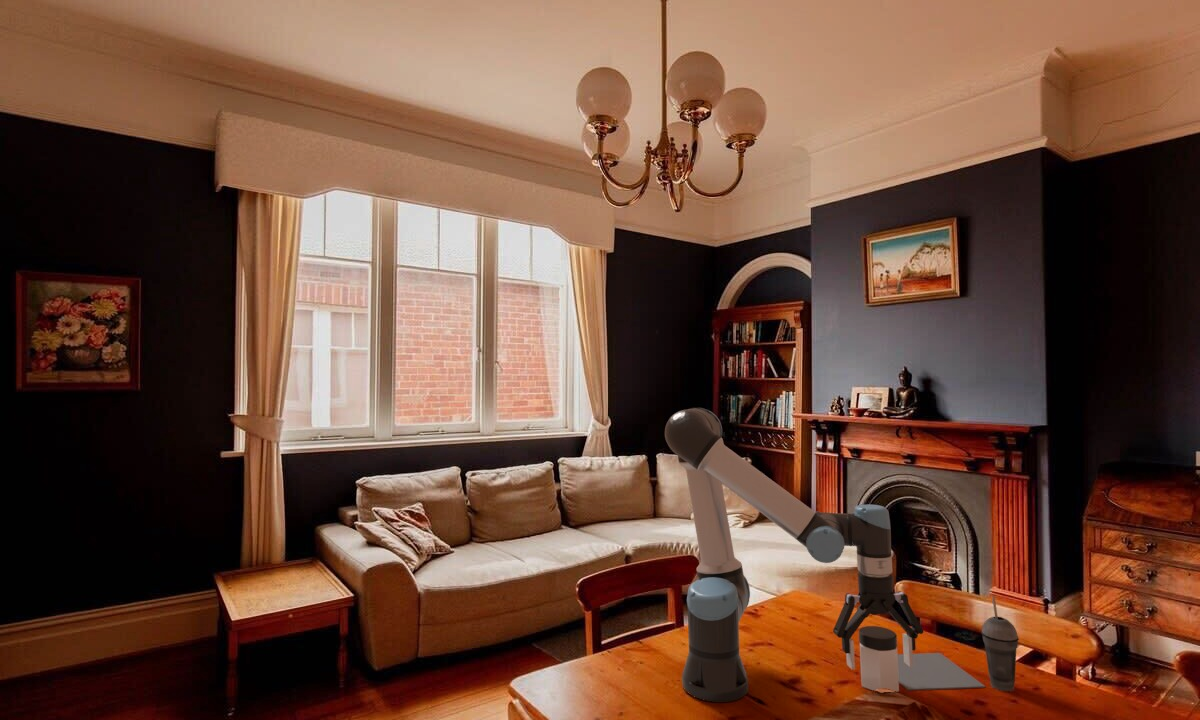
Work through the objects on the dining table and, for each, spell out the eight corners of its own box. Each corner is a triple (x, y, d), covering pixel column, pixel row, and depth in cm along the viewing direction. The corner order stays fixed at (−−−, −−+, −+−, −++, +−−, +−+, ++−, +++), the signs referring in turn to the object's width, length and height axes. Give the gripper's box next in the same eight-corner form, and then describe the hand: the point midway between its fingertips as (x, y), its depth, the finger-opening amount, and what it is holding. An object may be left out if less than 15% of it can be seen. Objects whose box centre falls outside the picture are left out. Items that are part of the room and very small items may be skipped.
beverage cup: (1003, 696, 138) (999, 605, 139) (975, 682, 145) (971, 594, 146) (1029, 691, 140) (1024, 601, 141) (1000, 677, 147) (996, 591, 148)
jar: (907, 686, 144) (905, 633, 145) (890, 697, 139) (888, 642, 139) (869, 673, 151) (867, 622, 152) (852, 683, 146) (850, 631, 146)
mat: (907, 690, 142) (907, 689, 142) (870, 656, 160) (870, 655, 160) (985, 687, 143) (985, 686, 143) (939, 654, 161) (939, 652, 161)
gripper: (828, 579, 142) (833, 675, 141) (936, 575, 143) (941, 670, 142) (816, 570, 149) (820, 660, 148) (918, 566, 150) (923, 656, 149)
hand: (879, 665), depth 145 cm, fingers open, 13 cm apart
